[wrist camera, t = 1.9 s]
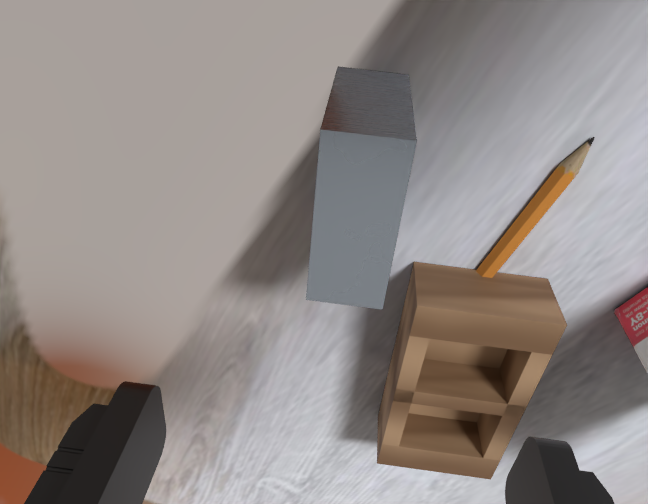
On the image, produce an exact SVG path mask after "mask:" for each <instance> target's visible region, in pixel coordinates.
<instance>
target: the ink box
mask: <svg viewBox="0 0 648 504" xmlns="http://www.w3.org/2000/svg"><path fill="white" fill-rule="evenodd" d="M614 314H615V315H616V316H617V318H618V320H619V322H620V323H621V325H622V327H623V329H624V331H625V333H626V334H627V336H628V338H629V340H630V342H631V344H632V346H633V347H634V349H635V351H636V353H637V355H638V357H639V359H640V361H641V363H642V364H643V366H644V368H645V370H646V372H647V374H648V287H647V288H645V289H644V290H642V291H641V292H640V293H638V294H636V295H635V296H634V297H633V298H631V299H629V300H628V301H627V302H625V303H624V304H622V305H621V306H620V307H618V308H616V309H615V311H614Z"/></svg>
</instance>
